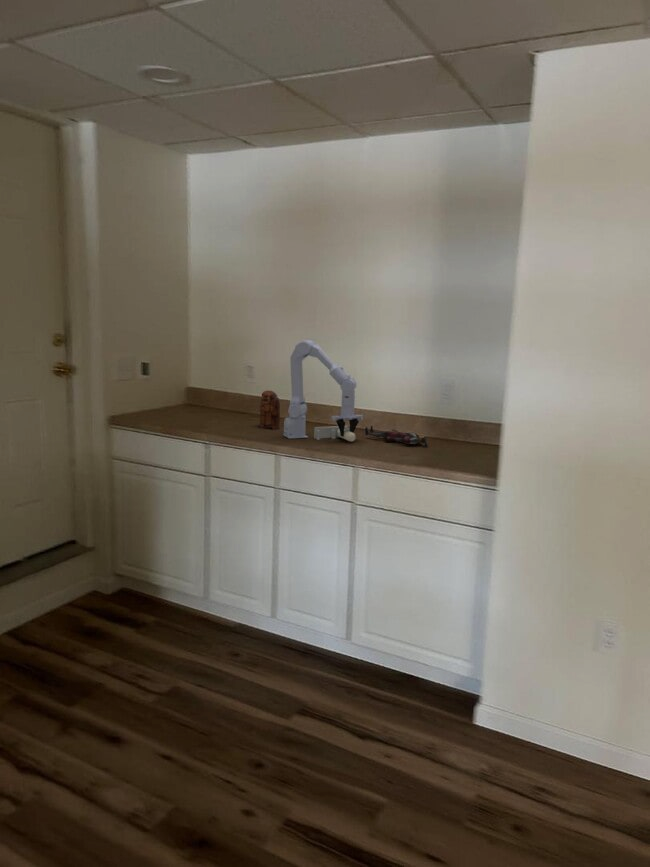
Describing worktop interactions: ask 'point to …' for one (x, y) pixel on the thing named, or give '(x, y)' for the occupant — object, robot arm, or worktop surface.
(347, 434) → the tall cream cylinder
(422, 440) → the figurine
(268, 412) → the wooden figurine
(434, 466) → the worktop surface
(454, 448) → the worktop surface
